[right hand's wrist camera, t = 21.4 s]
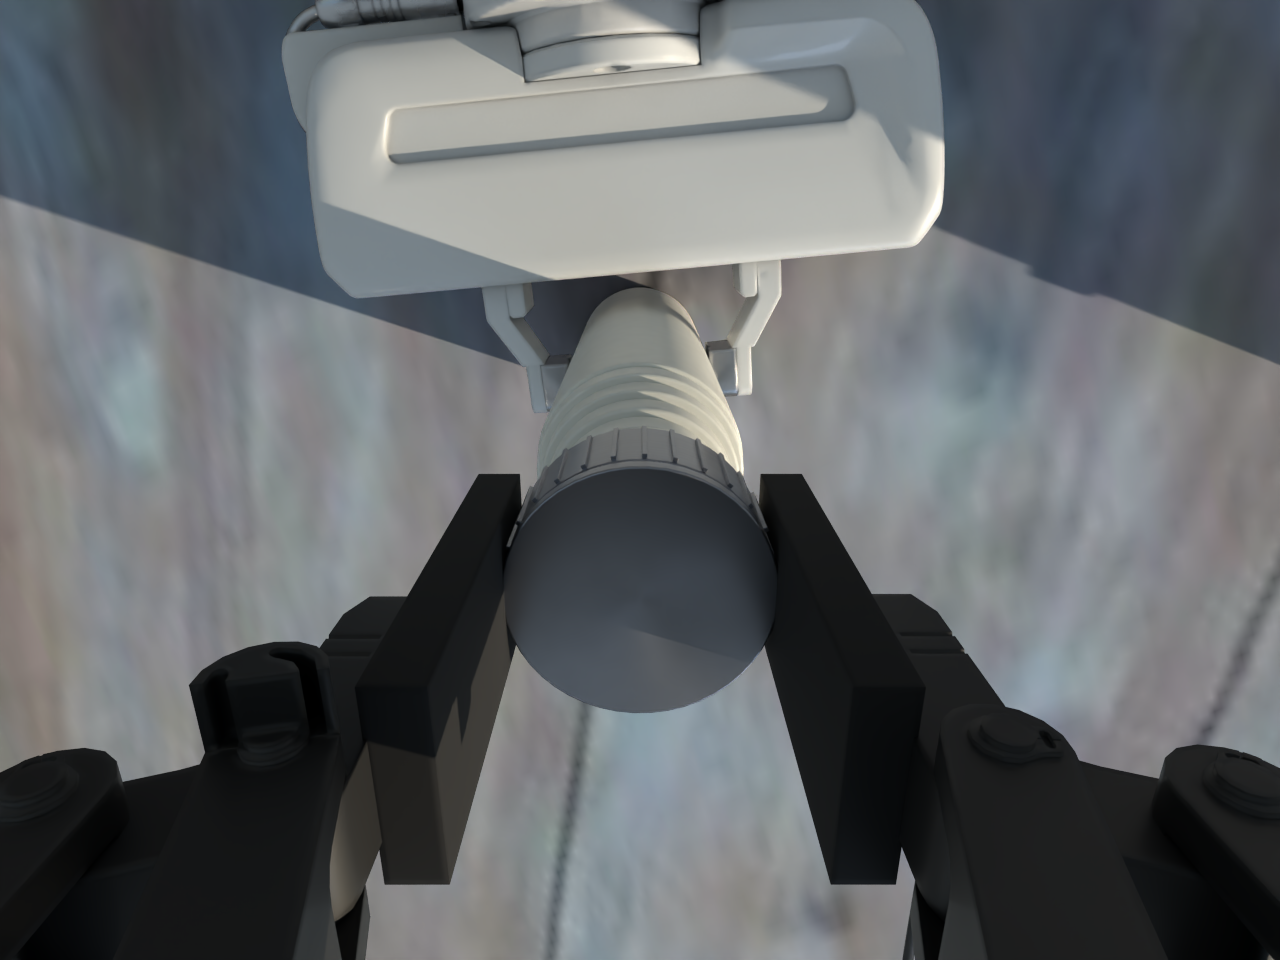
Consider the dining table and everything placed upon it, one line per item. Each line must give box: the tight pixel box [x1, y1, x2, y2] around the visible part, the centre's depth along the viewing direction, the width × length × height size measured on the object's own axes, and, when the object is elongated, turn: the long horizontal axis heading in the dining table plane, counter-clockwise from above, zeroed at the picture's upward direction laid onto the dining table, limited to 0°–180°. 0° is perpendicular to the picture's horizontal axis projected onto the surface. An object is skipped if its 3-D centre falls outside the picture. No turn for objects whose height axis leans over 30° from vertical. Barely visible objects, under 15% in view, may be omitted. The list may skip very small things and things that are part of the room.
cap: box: [503, 426, 778, 713], centre depth 13 cm, size 5×5×2 cm
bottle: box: [537, 288, 744, 479], centre depth 23 cm, size 5×5×22 cm
